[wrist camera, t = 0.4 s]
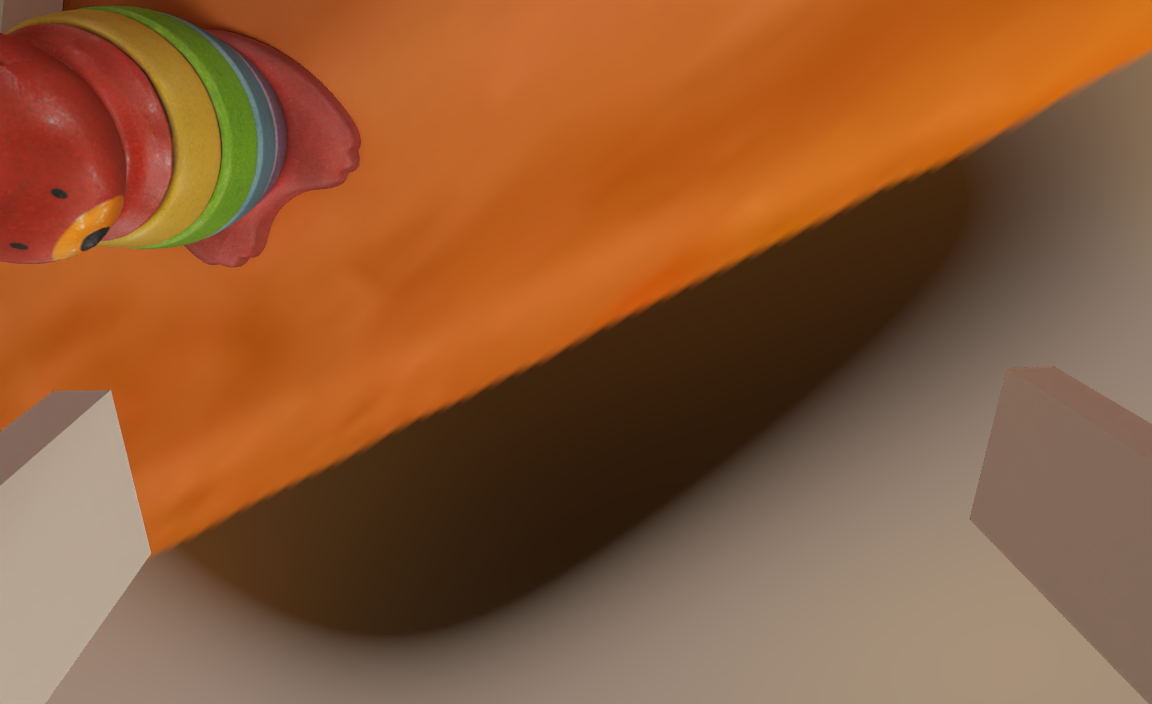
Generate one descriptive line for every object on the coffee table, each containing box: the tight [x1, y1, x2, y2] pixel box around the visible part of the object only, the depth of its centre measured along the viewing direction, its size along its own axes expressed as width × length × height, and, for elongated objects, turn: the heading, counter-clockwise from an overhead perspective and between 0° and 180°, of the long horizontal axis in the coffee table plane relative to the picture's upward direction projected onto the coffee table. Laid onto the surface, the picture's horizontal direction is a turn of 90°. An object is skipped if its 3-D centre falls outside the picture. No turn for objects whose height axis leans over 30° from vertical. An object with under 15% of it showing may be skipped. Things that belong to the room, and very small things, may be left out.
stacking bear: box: [0, 6, 361, 267], centre depth 29 cm, size 11×10×18 cm
